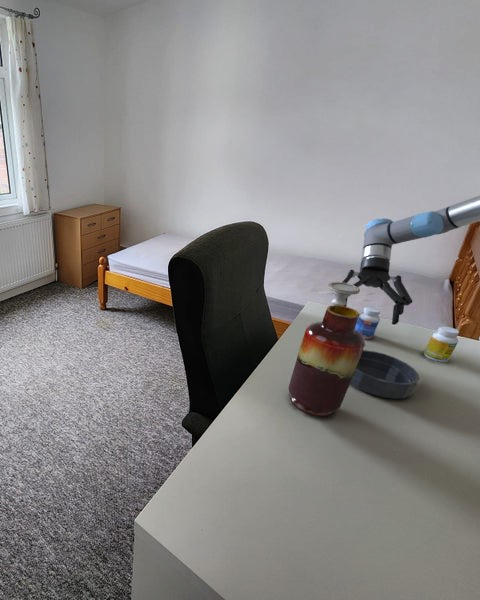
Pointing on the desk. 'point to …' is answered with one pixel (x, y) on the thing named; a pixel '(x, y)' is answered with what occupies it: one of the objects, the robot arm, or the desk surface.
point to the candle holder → (342, 292)
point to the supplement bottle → (442, 344)
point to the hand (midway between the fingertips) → (368, 318)
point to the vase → (326, 362)
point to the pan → (384, 376)
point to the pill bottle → (368, 322)
